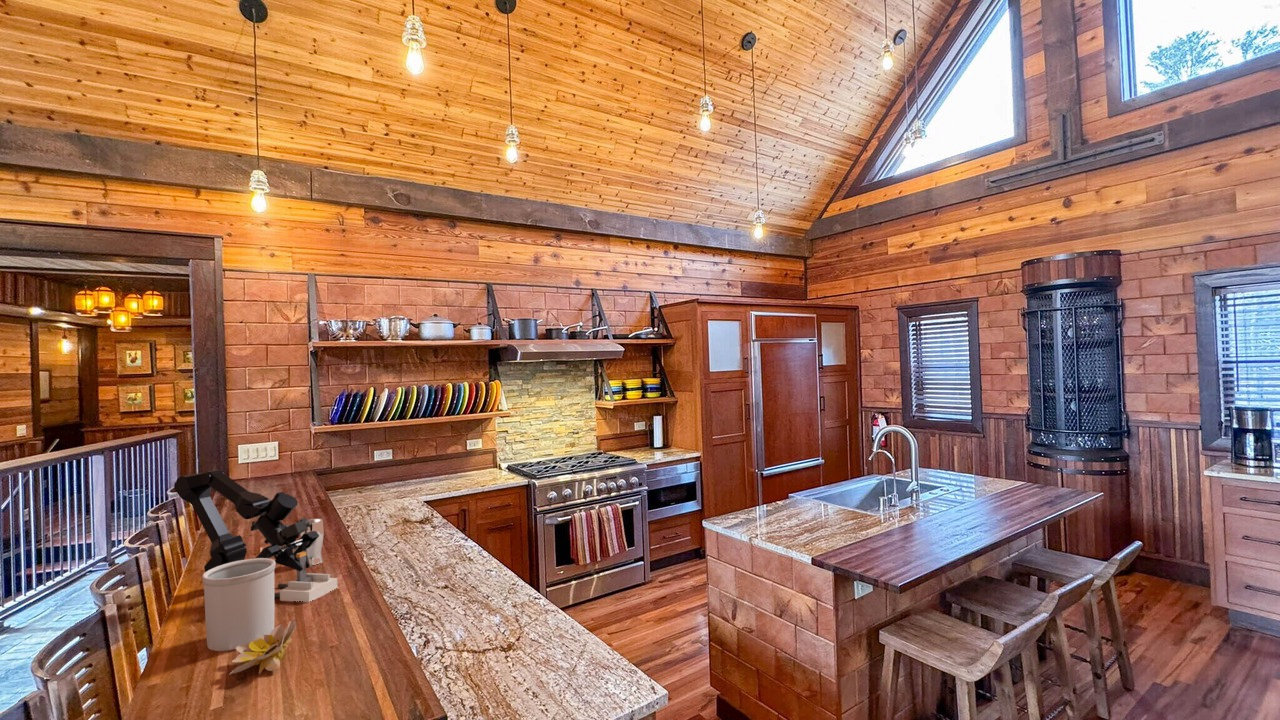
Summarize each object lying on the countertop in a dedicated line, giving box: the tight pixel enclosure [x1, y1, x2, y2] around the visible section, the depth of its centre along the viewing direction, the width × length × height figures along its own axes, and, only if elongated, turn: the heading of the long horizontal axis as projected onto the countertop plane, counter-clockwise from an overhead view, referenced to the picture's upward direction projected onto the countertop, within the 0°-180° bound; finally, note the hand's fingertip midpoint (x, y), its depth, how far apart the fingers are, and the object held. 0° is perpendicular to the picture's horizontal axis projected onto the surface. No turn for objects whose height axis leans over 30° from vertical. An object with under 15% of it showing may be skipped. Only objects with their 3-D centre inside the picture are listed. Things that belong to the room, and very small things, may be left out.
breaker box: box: [274, 572, 338, 603], centre depth 166 cm, size 19×11×5 cm, turn 78°
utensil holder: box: [201, 557, 277, 652], centre depth 138 cm, size 15×15×18 cm
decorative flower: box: [229, 618, 297, 675], centre depth 125 cm, size 15×11×10 cm
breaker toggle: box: [295, 552, 312, 582], centre depth 166 cm, size 3×5×9 cm, turn 168°
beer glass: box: [300, 518, 325, 567], centre depth 194 cm, size 7×7×15 cm
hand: (305, 568), depth 166 cm, fingers closed on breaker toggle, 2 cm apart
